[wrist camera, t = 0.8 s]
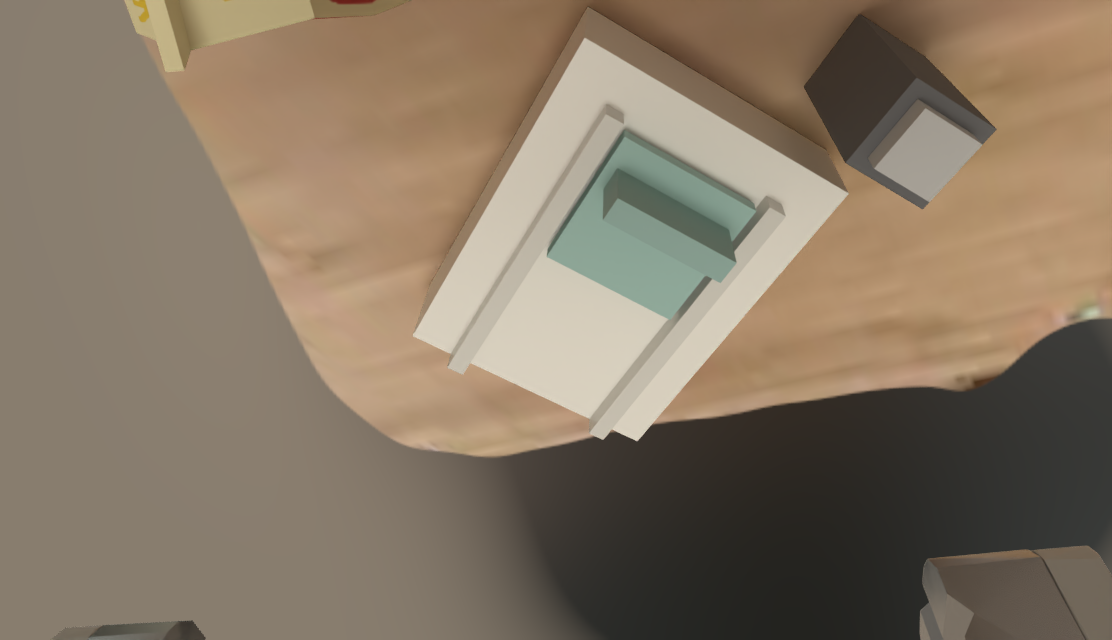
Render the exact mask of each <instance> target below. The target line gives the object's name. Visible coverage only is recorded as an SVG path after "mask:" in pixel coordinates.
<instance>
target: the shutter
mask: <svg viewBox="0 0 1112 640" xmlns="http://www.w3.org/2000/svg"><path fill="white" fill-rule="evenodd" d="M755 213H756V208H755V205H754V203H753V202H751V201H749V200H747V199H745V198H744V197H742V196H740V195H738V194H737V193H735V192H733V191H731V190H730V189H728V188H726V187H724V186H723V185H721V184H719V183H717V182H716V181H714V180H712V179H710V178H709V177H707V176H705V175H703V174H701V173H700V172H698V171H696V170H694V169H693V168H691V167H689V166H687V165H686V164H684V163H682V162H680V161H679V160H677V159H675V158H673V157H672V156H670V155H668V154H666V153H665V152H663V151H661V150H659V149H658V148H656V147H654V146H652V145H650V144H649V143H647V142H645V141H643V140H642V139H640V138H638V137H636V136H635V135H633V134H631V133H629V132H628V131H626V130H624V131H623V133H622V134H621V136H620V137H619V139H618V140H617V142H616V144H615V145H614V147H613V148H612V150H611V151H610V153H609V154H608V156H607V157H606V159H605V161H604V162H603V164H602V165H601V167H600V168H599V170H598V171H597V173H596V175H595V176H594V178H593V179H592V181H591V182H590V184H589V185H588V187H587V188H586V190H585V192H584V193H583V195H582V196H581V198H580V199H579V201H578V202H577V204H576V205H575V207H574V209H573V210H572V212H571V213H570V215H569V216H568V218H567V219H566V221H565V222H564V224H563V226H562V227H561V229H560V230H559V232H558V233H557V235H556V236H555V238H554V239H553V241H552V243H551V244H550V246H549V247H548V250H547V257H548V258H550V259H552V260H554V261H556V262H558V263H560V264H562V265H564V266H566V267H568V268H569V269H571V270H573V271H575V272H577V273H579V274H581V275H583V276H585V277H587V278H589V279H591V280H593V281H595V282H597V283H599V284H601V285H603V286H605V287H606V288H608V289H610V290H612V291H614V292H616V293H618V294H620V295H622V296H624V297H626V298H628V299H630V300H632V301H634V302H636V303H638V304H640V305H642V306H643V307H645V308H647V309H649V310H651V311H653V312H655V313H657V314H659V315H661V316H663V317H665V318H667V319H669V320H671V318H672V317H673V316H674V315H675V313H676V312H677V311H678V310H679V308H680V307H681V306H682V305H683V303H684V302H685V301H686V300H687V298H688V297H689V296H690V294H691V293H692V292H693V291H694V289H695V288H696V287H697V286H698V284H699V283H700V282H701V281H702V279H703V278H704V277H705V276H708V277H710V278H711V279H713V280H715V281H717V282H719V283H721V282H722V281H723V279H724V278H725V277H726V276H727V274H728V273H729V272H730V271H731V270H732V268H733V267H734V266H735V265H736V263H737V262H736V258H735V253H734V249H733V245H732V242H733V240H734V239H735V238H736V236H737V235H738V234H739V233H740V231H741V230H742V229H743V228H744V226H745V225H746V224H747V223H748V221H749V220H750V219H751V218H752V216H753V215H754V214H755Z"/></svg>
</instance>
